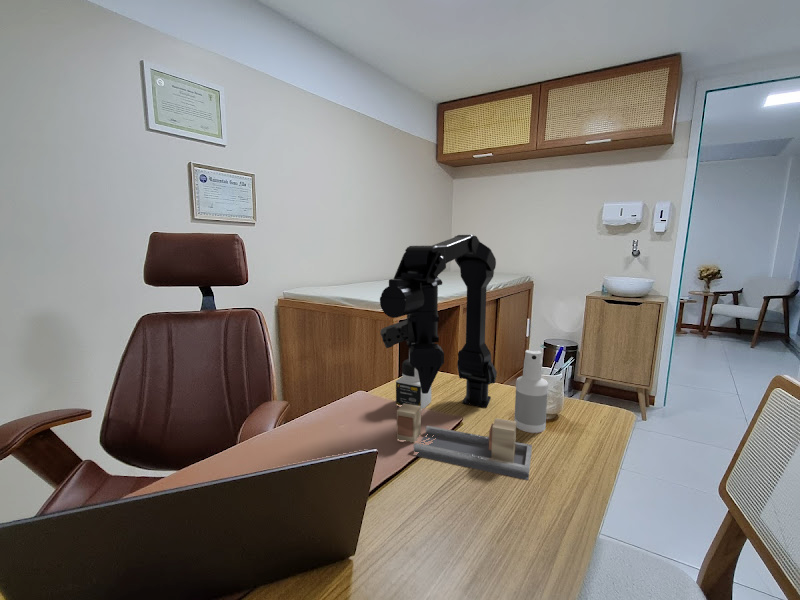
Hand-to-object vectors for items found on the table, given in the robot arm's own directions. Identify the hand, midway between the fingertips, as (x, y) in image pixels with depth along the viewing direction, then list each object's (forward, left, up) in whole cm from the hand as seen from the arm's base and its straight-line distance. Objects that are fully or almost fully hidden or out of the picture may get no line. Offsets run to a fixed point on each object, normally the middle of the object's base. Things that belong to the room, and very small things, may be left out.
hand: (422, 384), depth 78 cm
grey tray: (0, +10, -13) cm, 17 cm away
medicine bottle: (-18, -9, -14) cm, 24 cm away
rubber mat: (0, +10, -13) cm, 17 cm away
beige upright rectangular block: (0, +16, -13) cm, 21 cm away
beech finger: (-1, -4, -13) cm, 14 cm away
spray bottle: (-16, +20, -14) cm, 30 cm away
